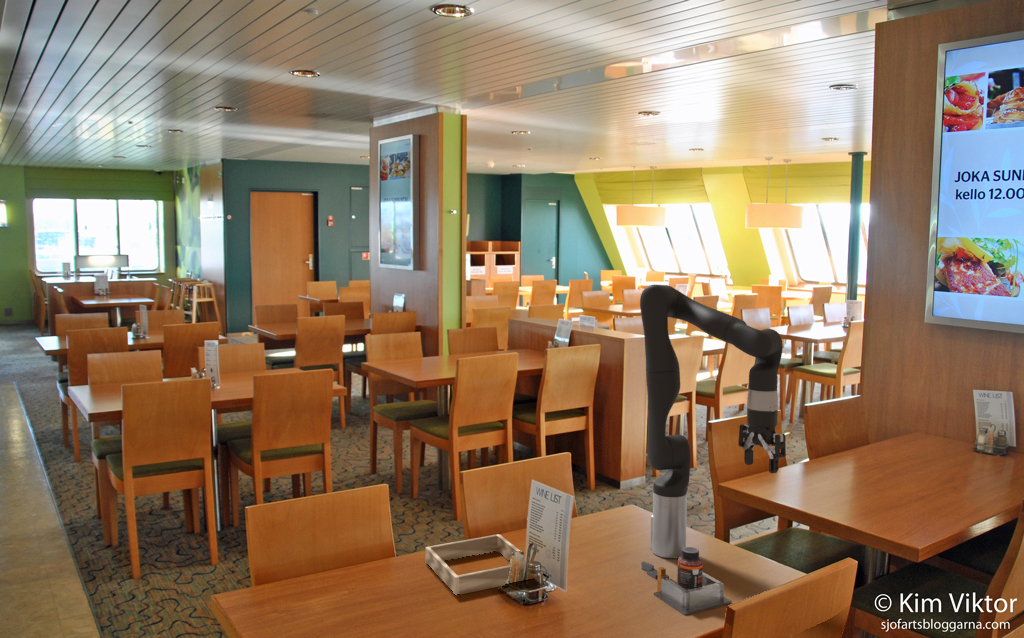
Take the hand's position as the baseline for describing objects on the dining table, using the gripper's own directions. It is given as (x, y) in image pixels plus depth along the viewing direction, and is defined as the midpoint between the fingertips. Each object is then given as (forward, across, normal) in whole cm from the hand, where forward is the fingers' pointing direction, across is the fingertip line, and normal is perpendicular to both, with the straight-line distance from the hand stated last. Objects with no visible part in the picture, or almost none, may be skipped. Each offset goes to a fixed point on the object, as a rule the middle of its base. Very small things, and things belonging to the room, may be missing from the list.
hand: (760, 468), depth 196 cm
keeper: (+28, +3, -25) cm, 38 cm away
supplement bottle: (+28, +3, -25) cm, 37 cm away
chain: (+28, -9, -25) cm, 39 cm away
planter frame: (+28, -34, -65) cm, 79 cm away
